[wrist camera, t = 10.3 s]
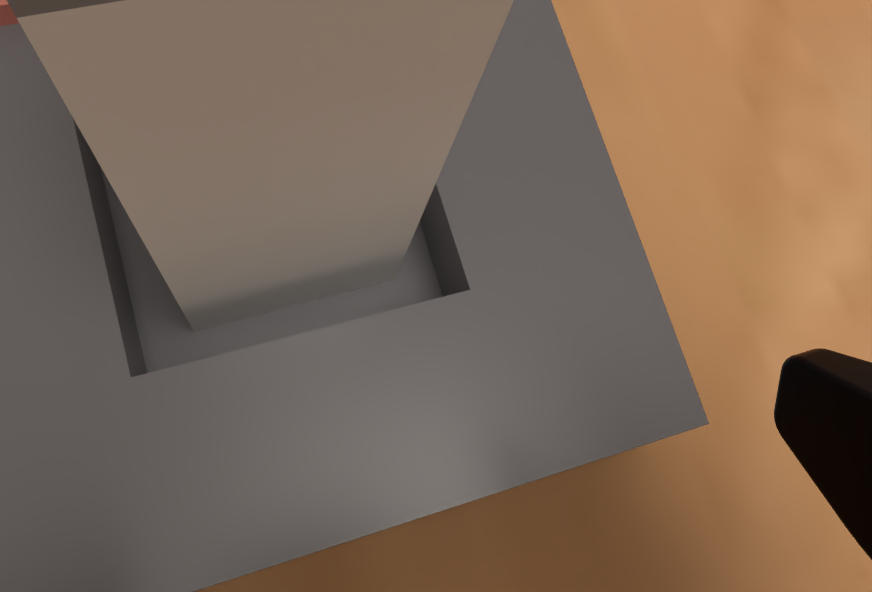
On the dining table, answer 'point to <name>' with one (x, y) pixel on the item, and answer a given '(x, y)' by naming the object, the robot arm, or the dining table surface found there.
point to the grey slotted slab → (317, 350)
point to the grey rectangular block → (267, 131)
